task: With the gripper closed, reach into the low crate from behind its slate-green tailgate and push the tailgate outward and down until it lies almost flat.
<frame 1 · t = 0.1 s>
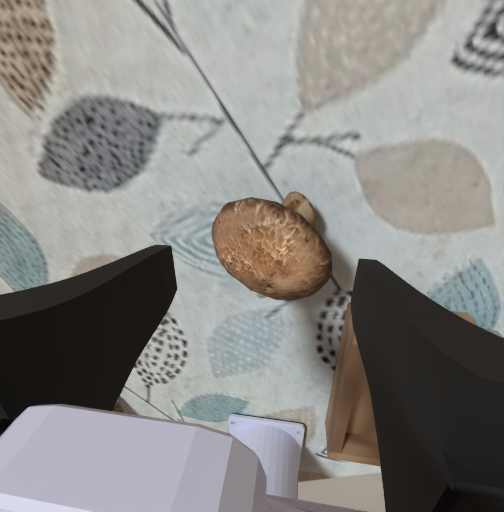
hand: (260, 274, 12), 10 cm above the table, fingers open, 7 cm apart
tailgate: (474, 435, 22), point 4 cm above the table, hinge at 0.0°
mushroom: (274, 231, 22), on the table
crate: (454, 384, 26), on the table
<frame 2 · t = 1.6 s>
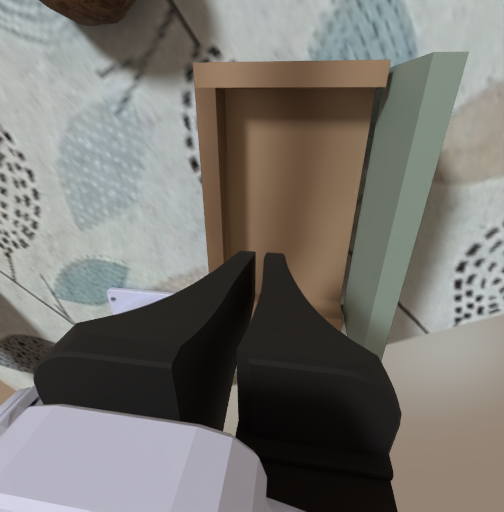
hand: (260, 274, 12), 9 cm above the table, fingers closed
tailgate: (380, 233, 15), point 4 cm above the table, hinge at 0.0°
crate: (372, 206, 19), on the table
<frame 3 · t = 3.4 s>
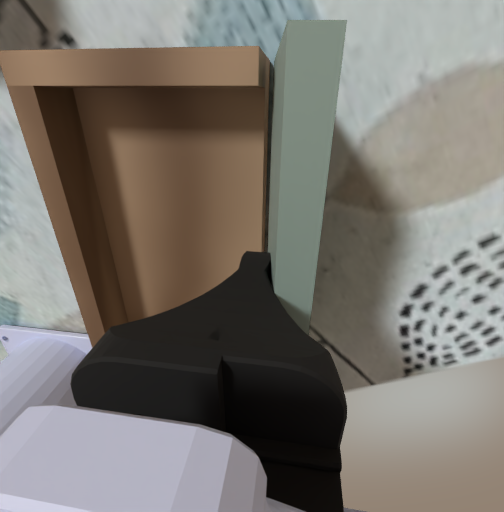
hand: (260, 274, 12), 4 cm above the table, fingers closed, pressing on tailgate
tailgate: (282, 285, 11), point 5 cm above the table, hinge at 6.8°, touching gripper
crate: (290, 236, 15), on the table
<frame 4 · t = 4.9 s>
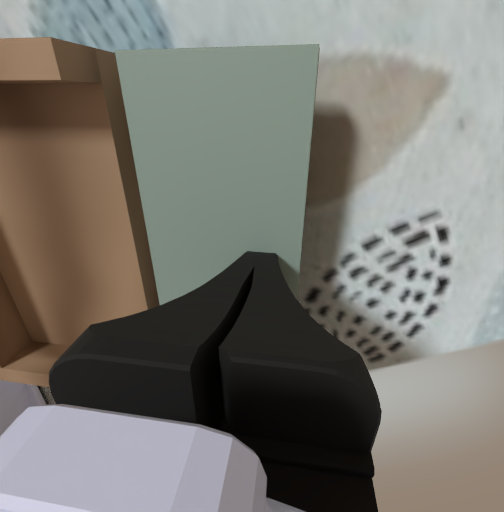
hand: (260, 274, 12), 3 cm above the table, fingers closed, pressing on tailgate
tailgate: (225, 265, 12), point 2 cm above the table, hinge at 86.8°, touching gripper
crate: (176, 238, 14), on the table
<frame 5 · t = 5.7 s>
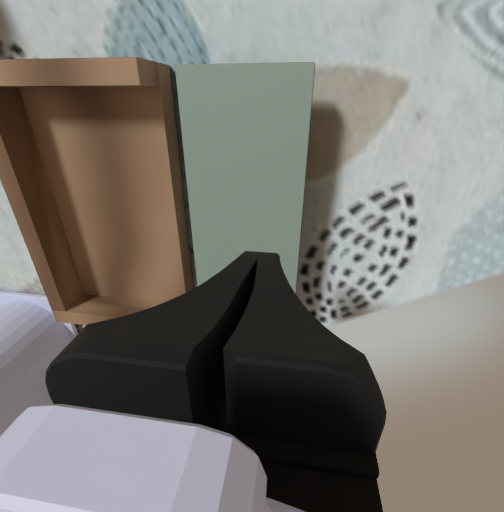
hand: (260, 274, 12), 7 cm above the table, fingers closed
tailgate: (245, 222, 16), point 2 cm above the table, hinge at 87.0°
crate: (204, 207, 19), on the table
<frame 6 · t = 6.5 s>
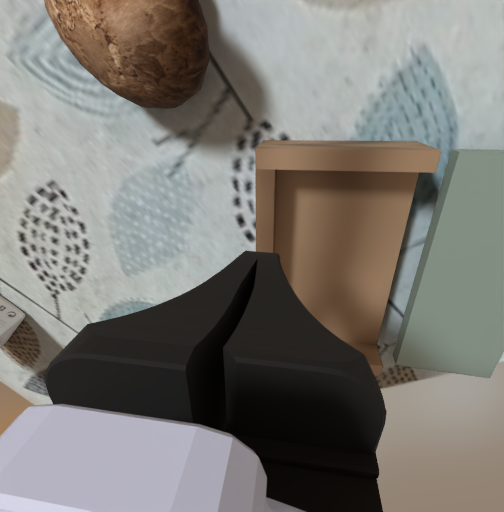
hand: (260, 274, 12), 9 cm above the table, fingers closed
tailgate: (473, 279, 18), point 2 cm above the table, hinge at 87.0°
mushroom: (157, 33, 17), on the table
skincare box: (1, 316, 29), on the table
crate: (409, 259, 20), on the table
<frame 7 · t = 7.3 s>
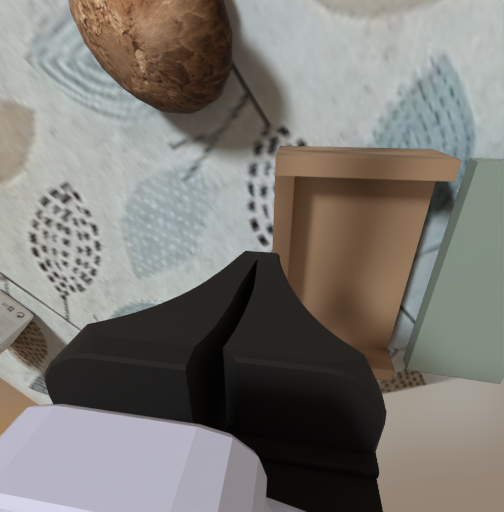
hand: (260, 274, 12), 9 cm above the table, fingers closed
tailgate: (486, 286, 18), point 2 cm above the table, hinge at 87.0°
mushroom: (177, 38, 17), on the table
skincare box: (9, 316, 29), on the table
crate: (422, 265, 20), on the table
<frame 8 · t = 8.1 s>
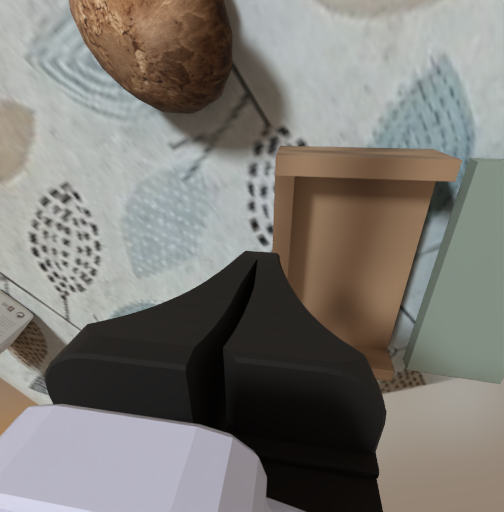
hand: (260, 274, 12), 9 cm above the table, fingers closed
tailgate: (486, 286, 18), point 2 cm above the table, hinge at 87.0°
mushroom: (177, 38, 17), on the table
skincare box: (9, 316, 29), on the table
crate: (422, 265, 20), on the table
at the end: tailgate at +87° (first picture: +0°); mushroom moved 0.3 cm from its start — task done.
